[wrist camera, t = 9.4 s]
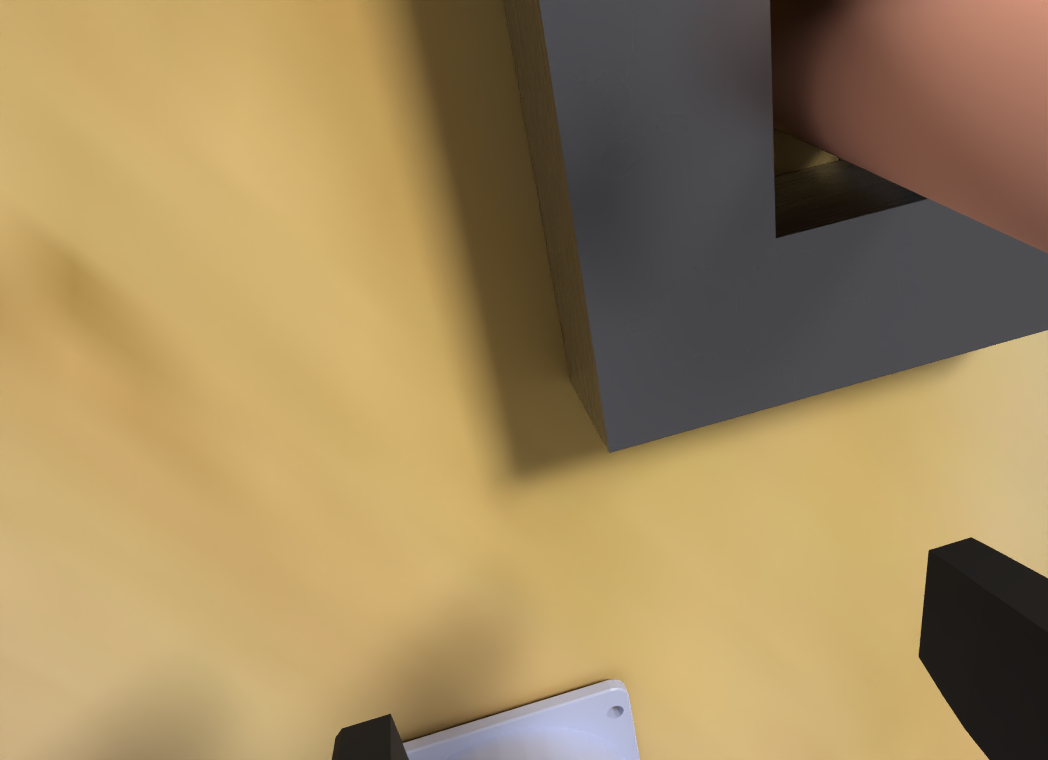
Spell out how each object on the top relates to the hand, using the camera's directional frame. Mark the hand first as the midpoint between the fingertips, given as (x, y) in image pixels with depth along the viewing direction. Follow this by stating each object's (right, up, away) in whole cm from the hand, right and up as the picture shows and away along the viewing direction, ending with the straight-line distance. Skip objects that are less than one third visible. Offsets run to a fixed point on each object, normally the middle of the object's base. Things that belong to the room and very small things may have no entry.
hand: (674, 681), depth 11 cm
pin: (+4, +10, +6) cm, 13 cm away
